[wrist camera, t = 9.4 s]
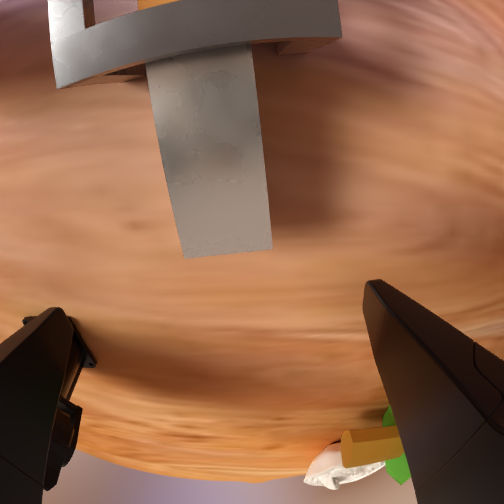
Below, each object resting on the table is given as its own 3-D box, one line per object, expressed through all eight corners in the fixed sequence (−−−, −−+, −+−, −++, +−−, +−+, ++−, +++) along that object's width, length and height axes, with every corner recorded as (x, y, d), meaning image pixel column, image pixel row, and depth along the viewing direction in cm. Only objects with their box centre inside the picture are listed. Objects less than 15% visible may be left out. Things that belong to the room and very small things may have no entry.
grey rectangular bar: (266, 209, 20) (272, 249, 15) (197, 217, 20) (184, 258, 16) (229, -87, 10) (225, -127, 5) (156, -74, 10) (132, -108, 6)
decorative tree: (362, 500, 21) (554, 429, 20) (358, 391, 28) (542, 355, 27) (332, 490, 30) (505, 444, 29) (331, 409, 37) (498, 381, 36)
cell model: (386, 441, 39) (396, 477, 33) (315, 464, 42) (320, 500, 36) (374, 419, 34) (385, 463, 28) (289, 446, 37) (293, 489, 31)
